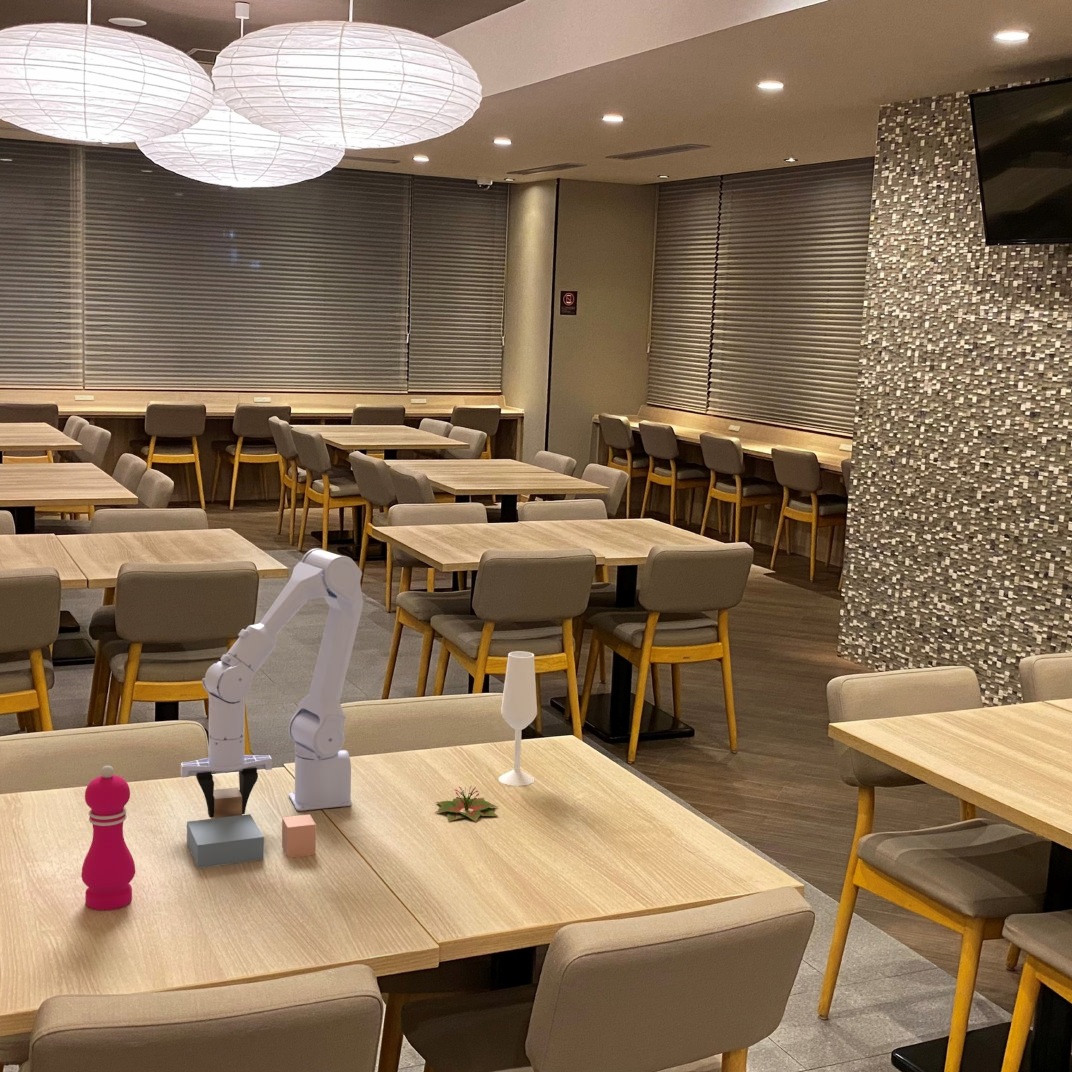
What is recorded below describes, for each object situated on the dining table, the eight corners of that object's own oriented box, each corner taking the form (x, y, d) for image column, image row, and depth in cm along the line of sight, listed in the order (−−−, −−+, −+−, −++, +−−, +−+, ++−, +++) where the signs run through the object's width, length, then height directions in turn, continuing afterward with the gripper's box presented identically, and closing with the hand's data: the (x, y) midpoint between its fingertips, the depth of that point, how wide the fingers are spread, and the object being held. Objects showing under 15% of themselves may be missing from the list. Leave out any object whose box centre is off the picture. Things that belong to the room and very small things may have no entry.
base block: (250, 837, 203) (250, 814, 202) (263, 861, 194) (263, 836, 193) (186, 845, 199) (186, 821, 198) (197, 870, 190) (197, 845, 189)
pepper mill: (85, 916, 173) (83, 777, 170) (78, 895, 179) (76, 760, 176) (139, 907, 176) (138, 770, 173) (130, 886, 183) (129, 754, 179)
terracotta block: (309, 844, 201) (309, 814, 200) (315, 854, 197) (315, 824, 196) (282, 847, 199) (282, 817, 198) (287, 858, 195) (287, 827, 194)
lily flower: (489, 797, 225) (490, 773, 224) (509, 822, 214) (510, 796, 213) (424, 803, 221) (424, 778, 220) (441, 829, 210) (442, 803, 209)
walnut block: (237, 815, 211) (237, 787, 210) (242, 825, 207) (242, 796, 206) (211, 818, 209) (211, 790, 208) (214, 828, 205) (214, 799, 204)
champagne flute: (534, 786, 230) (539, 659, 227) (497, 785, 231) (502, 658, 227) (534, 774, 237) (539, 650, 233) (499, 772, 237) (503, 649, 234)
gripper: (266, 724, 212) (266, 800, 214) (178, 731, 207) (178, 809, 209) (274, 736, 206) (273, 815, 208) (183, 744, 200) (183, 825, 202)
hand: (226, 813), depth 208 cm, fingers closed on walnut block, 4 cm apart
